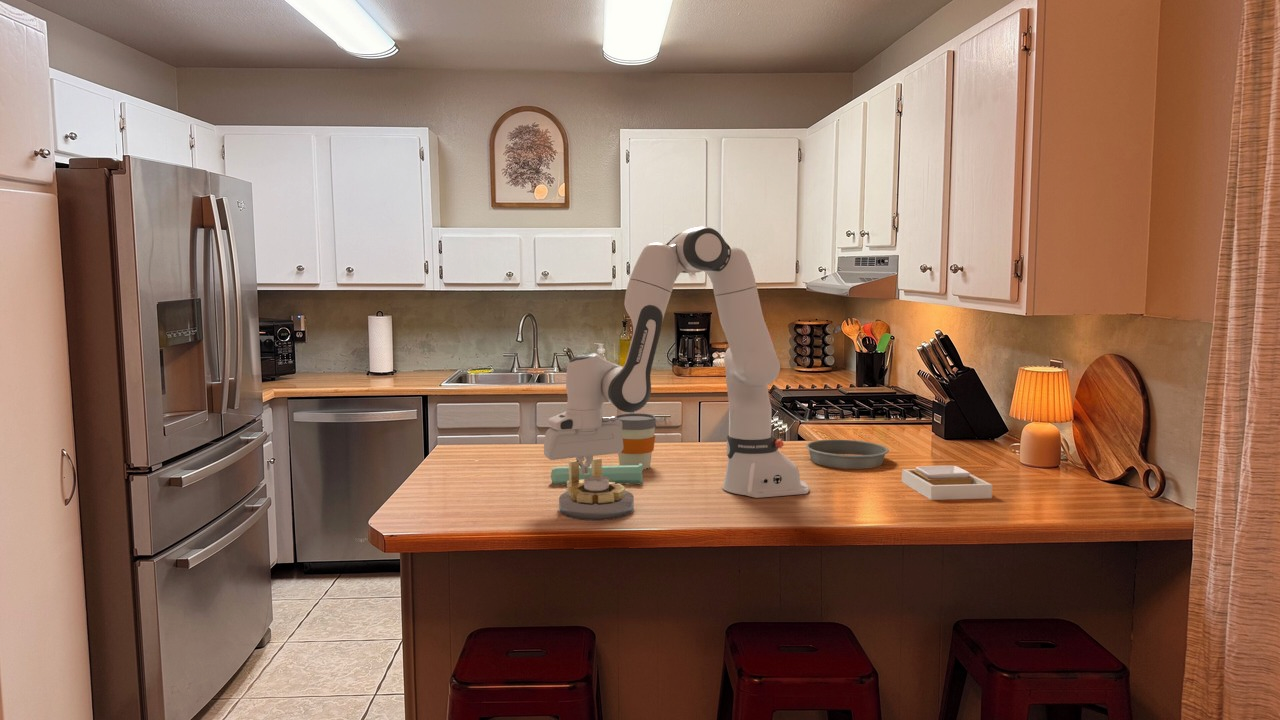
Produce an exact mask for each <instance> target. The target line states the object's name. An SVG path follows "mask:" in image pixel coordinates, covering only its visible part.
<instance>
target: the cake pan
mask: <svg viewBox="0 0 1280 720" xmlns="http://www.w3.org/2000/svg"><path fill="white" fill-rule="evenodd" d="M805 448H806V449H807V450H808V451H809V452H808V453H809V457H810V461H811V462H813V463H814V464H818V465H819V466H823V467H829V468H837V469H846V470H851V469H852V470H853V469H854V470H858V469H859V470H861V469H862V470H863V469H871V468H872V469H873V468H876V467H879V466H882V464H883V463H884V458H885V457H886V455H887V454H888V453H889V451H890V450H889V448H888V447H886V446H884V445H882V444H878V443H874V442H870V441H862V440H852V439H821V440H814V441H810V442H808V443H806V445H805Z"/></svg>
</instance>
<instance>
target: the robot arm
mask: <svg viewBox="0 0 1280 720" xmlns="http://www.w3.org/2000/svg"><path fill="white" fill-rule="evenodd" d="M701 272H704V273H706V275H707V276H708V277H709V279H710V282H711V285H712V290H713V295H714V301H715V304H716V309H717V314H718V318H719V323H720V325H721V327H722V331H723V333H724V335H725V338H726V342H727V344H728V347H727V349H726V351H725V353H724V357H723V362H724V368H725V369H724V370H725V371H724V372H725V379H726V389H727V398H728V399H727V401H728V413H729V414H728V435H727V437H726V438H727V439H726V456H727V464H726V471H725V475H724V480H723V484H722V486H721V487H722V489H723V490H724V491H725V492H728V493H731V494H736V495H742V496H748V497H752V498H757V499H761V498H769V497H771V498H772V497H773V498H774V497H782V496H793V495H794V496H795V495H806V494H808V493H809V491H810V489H809V488H810V487H809V485H808V484H807V483H806V482H805V481H803V480H801V477H800V471H799V469H798V466H797V465H796V463H795V462H793V461H792V460H791V459H790V458H789V457H787V455H785V454H783V453H782V452H781V451H779V449H782V448H783V447H784V445H785V444H784V441H783V440H781V439H778V438H776V437H775V436H773V435H772V411H773V410H772V403H771V400H770V394H769V391H768V390H769V389H768V385H771V384H772V383H773V382H775V381H776V380H777V378H778V377H779V375H780V371H781V364H780V363H781V362H780V359H779V357H778V355H777V353H776V349H775V346H774V343H773V340H772V337H771V335H770V332H769V329H768V326H767V324H766V321H765V319H764V314H763V310H762V306H761V305H762V304H761V301H760V296H759V292H758V287H757V282H756V278H755V274H754V271H753V268H752V266H751V263H750V260H749V258H748V256H747V253H746V252H745V251H744V250H743V249H741V248H739V247H734V246H733V247H732V246H731V247H730V245H729V244H728V243H727V241H725V238H723V236H722V235H721V234H720V233H719V231H717V230H716V229H714V228H713V227H710V226H698V227H692V228H688V229H686V230H684V231H683V232H679V233H678V234H676V235H675V236H673V237H672V238H671V239H670V240H669V241H667V243H661V242H652V243H649V244H647V245H645V247H643V249H642V251H641V252H640V254H639V257H638V258H637V261H636V263H635V265H634V267H633V270H632V271H631V275H630V278H629V280H628V283H627V287H626V289H625V296H624V302H623V303H624V308H625V310H626V313H627V314H628V316H629V318H630V320H631V324H632V336H631V340H630V345H629V348H628V352H627V356H626V359H625V363H624V364H623V366H622V365H620V364H617V363H614V362H612V361H609V360H607V359H605V358H604V357H601V356H600V355H599V354H598V353H596V352H590V353H580V354H576V355H574V356H573V357H572V358H570V359H569V361H568V363H567V368H566V375H565V376H566V379H565V381H566V382H565V391H566V395H567V403H566V404H565V408H566V409H565V411H563V412H561V413H559V414H556V415H554V416H552V417H549V418H548V419H547V421H546V422H547V426H548V427H549V428H548V429H547V430H546V432H545V434H544V440H543V441H544V442H543V455H544V457H545V458H547V459H548V460H550V461H556V460H557V461H558V460H565V459H574V458H575V460H576V461H578V462H579V466H580V472H581V474H589V467H590V466H592V461H593V458H594V457H596V456H603V455H604V456H605V455H613V454H615V455H616V454H618V453H621V452H622V450H623V437H622V421H621V420H620V419H619V418H617V417H615V416H611V417H609V416H608V417H607V416H606V417H603V408H602V407H603V404H604V403H610V404H612V405H613V406H614V407H616V408H617V409H618V410H620V411H621V412H625V413H636V412H637V411H639V410H642V408H644V407H645V406H646V405H647V403H648V402H649V400H650V398H651V394H652V383H651V382H652V381H651V380H652V379H651V373H652V368H653V367H652V366H653V362H654V359H655V354H656V352H657V347H658V345H659V339H660V336H661V330H662V325H663V321H664V318H665V314H666V310H667V307H668V304H669V301H670V299H671V295H672V292H673V290H674V285H675V282H676V281H677V279H678V277H679V275H680V274H682V273H683V274H688V273H689V274H690V273H692V274H693V273H696V274H697V273H701ZM617 420H618V421H617ZM584 461H585V462H584Z"/></svg>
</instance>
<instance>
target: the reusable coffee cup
mask: <svg viewBox="0 0 1280 720" xmlns="http://www.w3.org/2000/svg"><path fill="white" fill-rule="evenodd" d="M614 417H617V418H619V419H620V420H621V421H622V437H623V450H622V452H621V453H617V455H618V463H619V466H626V465H639V464H642V469H645V470H647V469H646V468H648V469H650V468H651V463H652V454H653V452H654V449H655V443H656V442H655V441H656V435H655V430H656V427H657V423H656V421H657V420H656V415H653V414H649V413H648V414H647V413H640V412H639V413H636V412H630V413H622V414H617V415H615V416H614ZM617 421H618V420H617ZM649 467H650V468H649Z"/></svg>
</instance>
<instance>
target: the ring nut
mask: <svg viewBox="0 0 1280 720" xmlns="http://www.w3.org/2000/svg"><path fill="white" fill-rule="evenodd" d="M602 461H603V460H602V458H600V457H595V458H594V457H593V461H592V463H591V466H592V476H602V466H603V465H602V464H603V462H602ZM568 467H569V481H567V485H566V489H567V496H568V497H569V498H570V499H571V500H577V502H584V503H594V502H595V501H596V502H597V503H606V502H614V500H620V499H622V498H623V497H625V491H626V486H624V485H623V484H615V482H609V492H603V493H588V492H584V479H581V480H579V462H578V461H576V459H575V460H573V459H572V460H568Z"/></svg>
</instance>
